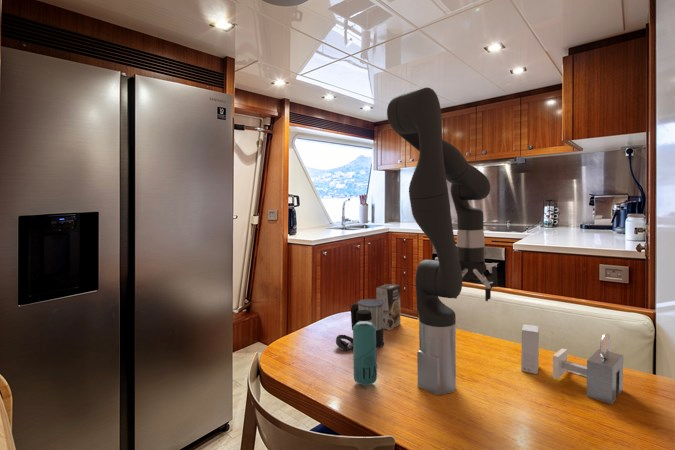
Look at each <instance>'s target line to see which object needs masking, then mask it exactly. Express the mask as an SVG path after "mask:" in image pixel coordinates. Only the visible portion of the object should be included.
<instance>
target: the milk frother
mask: <svg viewBox="0 0 675 450" xmlns="http://www.w3.org/2000/svg"><path fill="white" fill-rule="evenodd" d="M383 304H384V302H383V301H381V300H377V299H376V298H375V299H374V298H364V299H360V300H358V301H357V302H355V303H352V305H351V307H350V320H351V321H350V322H351V323H350V324H351V330H352V331H353V326H354V325H355V324H356V323H358V322H361V321H359V320H357V319H356V316H357V311H359V310H369V311H371V316H372V319H371V320H369V321H367V322H371V323H372V324H373V325H374V326H375V327H376V340H377V344H376V345H377V346H376V349H379V348H382V347H384V345H385V342H384V329H383ZM345 340H347V341H349V342H350V343H351V346H349V344H350V343H349V342H347V341H345ZM335 344H336V346H338V348H340V350H342V351H347V352H348V351H353V337H351V336H349V335H345V334H338V335H337V336H336V338H335Z"/></svg>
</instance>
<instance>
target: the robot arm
mask: <svg viewBox="0 0 675 450" xmlns="http://www.w3.org/2000/svg"><path fill="white" fill-rule="evenodd" d="M386 117H387V121H388V123H389V125H390V127H391V128H392V130H393V131H394V132H395V133H396V134H397V135H399V136H400V137H401V138H402V139H404V141H406V142H407V143H409V144H410V145H411V146H412V147H413V148H414V149H416V150H417V151H418V152H419V154H418V155H419V156H418V160H417V162H416V166H415V169H414V171H413V174H412V176H411V179H410V182H409V187H408V196H409V203H410V207H411V215H412V217H413V219H414V221H415V222H416V224H417V225H418V227H419V228H420V230H421V231H422V232H423V233H424V234H425V236H426V237H427V239H428V240H429V241H430V243H431V244H432V246H433V248H434V250H435V252H436V256H437V259H436V260H435V259H422V261H420V262H419V263H418V264H417V267H416V270H415V279H414V280H415V282H414V283H415V295H416V296H415V297H416V298H415V299H416V300H415V301H416V309H417V313H418V324H419V325H418V329H419V330H418V334H419V335H418V339H419V341H418V346H419V350H418V351H417V352H416V353H417V355H416V356H417V358H416V359H417V362H416V363H417V372H416V373H417V387H418V388H419V389H423V390H425V391H427V392H429V393H431V394H433V395H435V396H439V395H446V394H451V393H452V392H454V391H455V390H456V388H457V382H456V381H457V380H456V379H457V377H456V376H457V372H456V371H457V357H456V355H457V354H456V353H457V350H456V347H457V346H456V345H457V344H456V343H457V342H456V338H457V337H456V336H457V335H456V332H457V331H456V330H457V329H456V328H457V327H456V325H457V321H456V319H457V318H456V316H457V315H456V312H455V311H454V310H453V309H452V308H451V307H449V306H447V305H446V304H445V303H444V302H442V301H441V299H440V298H444V299H445V298H446V299H458V297H459V295H460V294H461V292H462V290H463V289H462V288H463V280H474V281H477V280H479V281H480V282H481V283H482V284H483V285H484V287H485V288H484V289H485V290H484V291H485V293H484V294H485V296H484V299H485V302H488V301H489V300H491V295H492V294H491V291H492V288H497V287H498V286H499V285H498V283H499V282H498V271H497V269H498V268H497V265H496V264H492V265H487V264H486V262H485V261H486V260H485V257H486V256H485V252H486V251H485V250H486V249H485V247H486V246H485V244H486V242H485V233H484V232H485V231H484V211H483V210H482V209H480V208H476V207H473V206H471V204H470V203H469V201H480V200H481V201H482V200H484V199H486V198H487V197H488V196H489V194H490V191H491V183H490V180H489V178H488V177H487V176H486V175H485V174H484V173H483V172H482V171H481V170H479V169H478V168H476V167H475V166H473V165H472V164H471V163H469V162H468V161H467V159H466V158H465V156H464V155H463V154H462V152H461V151H460V150H459V149H458V148H457V147H456V146H455V145H453V144H451V143H450V142H448V141H446V140H445V139H443V125H442V124H443V123H442V121H443V119H442V111H441V104H440V99H439V97H438V95H437V92H435V90H434V89H433V88H431V87H422V88H419V89H416V90H412V91H409V92H406V93H403V94H400V95H397V96H396V97H393V98H392V99H391V100H390V101H389V103H388V105H387V109H386ZM448 182H449V183H450V184H451V185H450V195H451V199H452V201H453V205H454V210H455V211H456V217H457V222H456V223H457V230H456V231H457V233H456V239H455V235H454V234H455V233H454V229H453V222H452V221H453V220H452V213H451V203H450V202H451V201H450V195H449V187H448ZM487 270H488V272H489V274H491V276H492V281H490V280H488V279H487V277H486V276H485V275H484V273H485V272H486V271H487ZM439 297H440V298H439Z"/></svg>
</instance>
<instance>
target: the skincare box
mask: <svg viewBox="0 0 675 450" xmlns="http://www.w3.org/2000/svg"><path fill="white" fill-rule="evenodd" d="M539 357H540V327H539V326H538V325H533V324H532V325H531V324H524V323H523V325H522V329H521V359H520V360H521V364H520V366H521V367H520V369H521V372H525V373H530V374H536V375H538V374H539V364H540V363H539V360H540V359H539Z"/></svg>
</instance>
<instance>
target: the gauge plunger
mask: <svg viewBox="0 0 675 450" xmlns="http://www.w3.org/2000/svg"><path fill="white" fill-rule="evenodd" d="M568 370H570V371H574V372H577V373H580V374H584V375H587V365H582V364H578V363H575V362H571V361H568V349H567V348H561V349H559V350H558V351H556V352H555V353H554V354H553V355H552V378H554V379H555V380H559V379H560V378H561V377H562V376H563V375H564V374H565V373H568V372H567V371H568Z"/></svg>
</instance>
